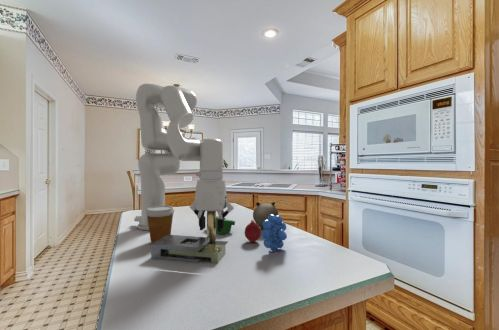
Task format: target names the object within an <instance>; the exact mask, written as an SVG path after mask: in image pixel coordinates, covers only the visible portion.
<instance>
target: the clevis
mask: <svg viewBox="0 0 499 330" xmlns="http://www.w3.org/2000/svg"><path fill="white" fill-rule="evenodd" d="M208 242H210V238H208V237H207V236H206V237H205V236H193V235H179V234H178V235H177V234H171V235H166V236H164V237H162V238H161V239H159V240H157V241H155V242H154V243H152V244H151V243H150V254H151V255H150V257H151V258H150V259H152V260H160V261H161V260H162V261H172V262H179V263H181V262H183V263H193V264H199V263H200V262H201V261H202V259H204V258H210V263H211V264H219V263H220V261H221V260H222V259H223V258H224V256H225V255H226V245H227V244H226V245H214V244H207V243H208Z"/></svg>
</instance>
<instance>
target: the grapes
mask: <svg viewBox="0 0 499 330" xmlns="http://www.w3.org/2000/svg"><path fill="white" fill-rule="evenodd" d="M263 227H264V229H266V230H262V231H261V236H260V237H261V238H262V239H263V240H264V241H263V246H264V247H265V248H266V249H270V251H271V252H276V251H278V249H282V248H283V247H284V246H285V245H284V241H285V240H286V239H287V238H288V236H287V233H286V232H285V230H287V225H286V223H285V222H284V221H283V218H282V216H281V215H279V214H278V215H277V216H275V215H273V214H271V215H269V216H268V220H265V221H264V222H263Z"/></svg>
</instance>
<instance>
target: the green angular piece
mask: <svg viewBox="0 0 499 330" xmlns="http://www.w3.org/2000/svg"><path fill="white" fill-rule="evenodd" d="M218 219H219V215H218V216H217V215H216V235H217V234H218V235H221V236H222V235H227V233H228V232H231V230H232V226H235V225H236V220H231V219H227V218H226V217H224V228H223V229H222V230H221V231H218Z"/></svg>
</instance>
